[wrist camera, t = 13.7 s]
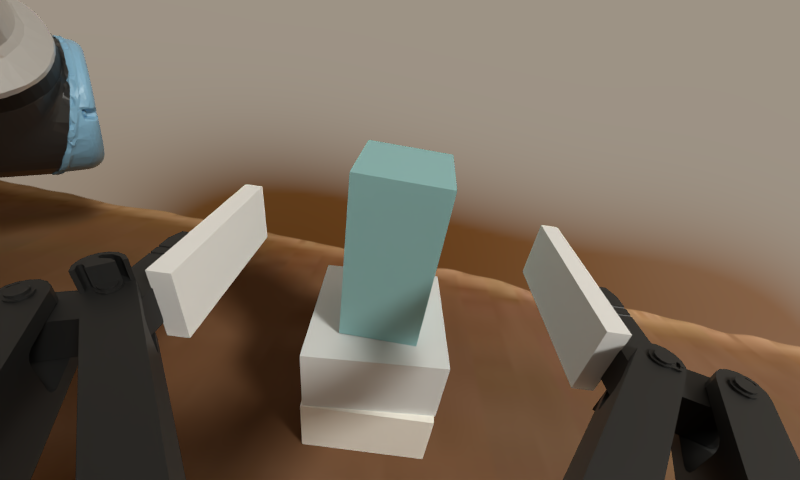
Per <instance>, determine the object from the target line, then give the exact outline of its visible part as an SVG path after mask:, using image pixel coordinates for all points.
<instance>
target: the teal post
mask: <svg viewBox="0 0 800 480" xmlns="http://www.w3.org/2000/svg"><path fill="white" fill-rule="evenodd" d="M456 193H457V184H456V175H455V166H454V157H453V155H451V154H446V153H440V152H434V151H429V150H423V149H417V148H412V147H406V146H400V145H395V144H388V143H383V142H377V141H372V140H369V141H368V142H367V144H366V146H365V147H364V149H363V151H362V152H361V154H360V156H359V157H358V159H357V161H356V162H355V164H354V166H353V167H352V169H351V171H350V176H349V191H348V207H347V222H346V237H345V251H344V266H343V281H342V296H341V311H340V326H339V333H342V334H348V335H354V336H359V337H365V338H371V339H376V340H382V341H388V342H393V343H399V344H405V345H410V346H416V345H417V342H418V338H419V334H420V330H421V326H422V323H423V319H424V315H425V311H426V307H427V304H428V300H429V296H430V292H431V288H432V285H433V281H434V277H435V273H436V269H437V266H438V262H439V258H440V254H441V250H442V247H443V243H444V239H445V235H446V231H447V227H448V224H449V220H450V216H451V212H452V209H453V205H454V201H455V197H456Z"/></svg>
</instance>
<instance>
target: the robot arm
mask: <svg viewBox="0 0 800 480" xmlns="http://www.w3.org/2000/svg"><path fill="white" fill-rule="evenodd" d="M103 159H104V146H103V140H102V135H101V130H100V125H99V121H98V116H97V113H96V107H95V102H94V96H93V91H92V87H91V82H90V78H89V74H88V69H87V65H86V61H85V57H84V54H83V50H82V48H81V47H80V45H78V44H77V43H76V42H74V41H72V40H68V39H64V38H62V37H61V36H54V35H53V36H52V35H51V33H50V32H49V30H48V28H47V27H46V25H45V23H44V22H43V20H42V19H41V18H40V17H39V16H38V15H37V14H36V13H35V12H34V11H33V10H31V9H30V8H29V7H28V6H26V5H25V4H24V3H22V2H20V1H19V0H0V177H14V176H28V175H42V174H53V175H55V174H56V175H59V174H62V173H64V172H66V171H74V170H84V169H90V168H94V167H96V166H98V165H99V164H100V163H101V162H102V161H103ZM266 238H267V229H266V219H265V209H264V199H263V189H262V187H261V186H254V185H247V184H246V185H244V186H243V187H242V188H241V189H240V190H239V191H237V192H236V193H235V194H234V195H233V196H232V197H230V198H229V199H228V200H227V201H226V202H224V203H223V204H222V205H221V206H220V207H219V208H217V209H216V210H215V211H214V212H213V213H211V214H210V215H209V216H208V217H207V218H206V219H204V220H203V221H202V222H201V223H200V224H199V225H197V226H196V227H195V228H194V229H193V230H192V231H190V232H184V231H182V232H180V233H178V234H175V235H173V236H171V237H169V238H167V239H166V240H165V241H164V242H163V243H161V244H160V245H159V247H156V248H155V249H154V250H153V251H151V253H149V254H148V255H146V256H145V257H144V258H143V259H141V260H140V261H139V262H138V263H136V264H135V265H134V266H133V267H131V266H130V263H129V260H128V258H127V257H126V255H125V254H122V253H119V252H103V253H97V254H93V255H90V256H87V257H85V258H82V259H80V260H78V261H77V262H75V263H74V264H73V265H72V266H71V267H70V269H69V273H70V275H71V277H72V279H73V281H74V283H75V285H76V287H77V290H78V291H65V292H54V290H53V288H52V286H51V285H50V284H49V283H48V281H44V280H40V279H37V280H25V281H19V282H15V283H12V284H9V285H6V286H4V287H2V288H0V480H31V477H32V475H33V472H34V470H35V468H36V465H37V463H38V460H39V458H40V455H41V453H42V451H43V448H44V446H45V443H46V441H47V438H48V436H49V434H50V431H51V429H52V426H53V424H54V421H55V419H56V417H57V414H58V412H59V409H60V407H61V404H62V402H63V400H64V397H65V395H66V392H67V390H68V387H69V385H70V383H71V380H72V378H73V375H74V373H75V370H76V368H77V365H78V393H77V440H76V480H186V478H185V473H184V468H183V463H182V458H181V453H180V448H179V443H178V438H177V433H176V428H175V423H174V418H173V413H172V408H171V403H170V398H169V393H168V388H167V383H166V378H165V373H164V368H163V363H162V358H161V353H160V348H159V344H158V339H157V336H156V333H155V331H156V330H157V329H158V328H159V327H160V326H161V324H162V323H163V324H164V327H165V330H166V332H167V335H171V336H179V337H186V338H190V337H191V336H192V335H193V334H194V332H195V331H196V330H197V328H198V327H199V326H200V324H201V323H202V322H203V320H204V319H205V318H206V317H207V315H208V314H209V313H210V311H211V310H212V309H213V307H214V306H215V305H216V303H217V302H218V301H219V299H220V298H221V297H222V296H223V294H224V293H225V292H226V290H227V289H228V288H229V286H230V285H231V284H232V282H233V281H234V280H235V279H236V277H237V276H238V275H239V273H240V272H241V271H242V269H243V268H244V267H245V265H246V264H247V263H248V262H249V260H250V259H251V258H252V256H253V255H254V254H255V252H256V251H257V250H258V248H259V247H260V246H261V245H262V243H263V242H264V241H265V239H266ZM523 273H524V276H525V278H526V280H527V283H528V285H529V288H530V290H531V293H532V295H533V297H534V300H535V302H536V304H537V307H538V309H539V312H540V314H541V316H542V319H543V321H544V324H545V326H546V328H547V331H548V333H549V335H550V338H551V340H552V343H553V345H554V347H555V350H556V352H557V355H558V357H559V359H560V362H561V364H562V366H563V369H564V371H565V374H566V376H567V378H568V381H569V383H570V386H571V388H577V389H585V390H592V391H593V390H594V389H595V387H596V386H597V385H598V383H599V382H600V380H602V382H603V384H604V385H605V387H606V389H607V390H606V391H605V393H604V394H603V395H602V397H601V398H600V399H599V401H598V402H597V404H596V405H595V406H594V408H593V410H594V411H595V412H594V414H593V416H592V419H591V421H590V423H589V425H588V427H587V429H586V431H585V433H584V436H583V438H582V440H581V442H580V444H579V446H578V448H577V451H576V453H575V455H574V457H573V459H572V461H571V463H570V466H569V468H568V470H567V472H566V474H565V476H564V478H563V480H664V479H665V474H666V470H667V465H668V460H669V456H670V451H672V458H673V465H674V472H675V479H676V480H800V461H799V459H798V457H797V454H796V452H795V450H794V448H793V446H792V443H791V441H790V439H789V437H788V435H787V433H786V430H785V428H784V426H783V424H782V422H781V420H780V417H779V415H778V413H777V411H776V409H775V406H774V404H773V402H772V400H771V399H770V397H769V396H768V394H767V393H766V392H765V391H764V390H763V389H762V388H761V387H760V386H759V385H758V384H757V383H755V382H754V381H752V380H751V379H749V378H748V377H746V376H743V375H741V374H739V373H737V372H734V371H731V370H728V369H719V370H718V371H716V372H715V373H714V374H713V375H712V376H711V377H710V378H709V377H707V376H704V375H701V374H698V373H695V372H693V371H690V370H687V369H686V367H685V366H684V364H683V363H682V361H681V360H680V359H679V358H678V357H677V356H676V355H674V354H673V353H671V352H670V351H668V350H667V349H665V348H663V347H661V346H658V345H656V344H651V343H650V341H649V340H648V339H647V337H646V336H645V334H644V333H643V332H642V330H641V329H640V328H639V326H638V325H637V324H636V322H635V321H634V320H633V318H632V317H630V314H629V313H628V311H627V310H626V309H624V306H623V305H622V303H621V302H620V301H619V299H618V298H617V297H616V296H615V295H614V294H612V293H611V292H610V291H609V290H608V289H606V288H603V287H598V285H597V284H596V282H595V281H594V280H593V278H592V277H591V275H590V274H589V272H588V271H587V269H586V268H585V267H584V265H583V264H582V262H581V261H580V259H579V258H578V256H577V255H576V254H575V252H574V251H573V249H572V248H571V246H570V245H569V244H568V242H567V241H566V239H565V238H564V236H563V235H562V233H561V232H560V230H559V229H558V228H557V227H551V226H544V225H541V227H540V229H539V232H538V234H537V237H536V240H535V242H534V245H533V247H532V250H531V252H530V255H529V257H528V260H527V262H526V265H525V267H524V270H523Z"/></svg>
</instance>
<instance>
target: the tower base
mask: <svg viewBox="0 0 800 480" xmlns="http://www.w3.org/2000/svg"><path fill="white" fill-rule="evenodd" d="M300 416H301V434H302V444H308V445H316V446H324V447H332V448H340V449H347V450H355V451H363V452H371V453H379V454H386V455H394V456H402V457H410V458H418V459H423V456H424V452H425V449H426V446H427V443H428V440H429V437H430V434H431V431H432V427H433V424H434V416H427V415H415V414H403V413H390V412H378V411H365V410H353V409H340V408H328V407H316V406H303V405H302V401H301V404H300Z"/></svg>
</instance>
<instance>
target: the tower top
mask: <svg viewBox="0 0 800 480" xmlns="http://www.w3.org/2000/svg"><path fill="white" fill-rule="evenodd" d="M342 281H343V267H341V266H332V265H328V268H327V272H326V275H325V278H324V281H323V284H322V287H321V290H320V294H319V297H318V300H317V303H316V306H315V309H314V312H313V316H312V319H311V322H310V325H309V328H308V331H307V334H306V337H305V341H304V344H303V347H302V350H301V353H300V374H301V394H302V405H303V406H316V407H328V408H340V409H353V410H365V411H378V412H390V413H403V414H415V415H427V416H435V415H436V412H437V409H438V406H439V403H440V400H441V397H442V393H443V390H444V387H445V384H446V381H447V378H448V375H449V371H450V365H449V357H448V350H447V343H446V336H445V328H444V321H443V314H442V307H441V299H440V292H439V285H438V277H436V276H435V277H434V281H433V285H432V288H431V292H430V296H429V300H428V304H427V307H426V311H425V315H424V319H423V323H422V326H421V330H420V334H419V338H418V342H417V345H416V346H410V345H405V344H399V343H393V342H388V341H382V340H376V339H371V338H365V337H359V336H354V335H348V334H342V333H339V326H340V311H341V296H342Z"/></svg>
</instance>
